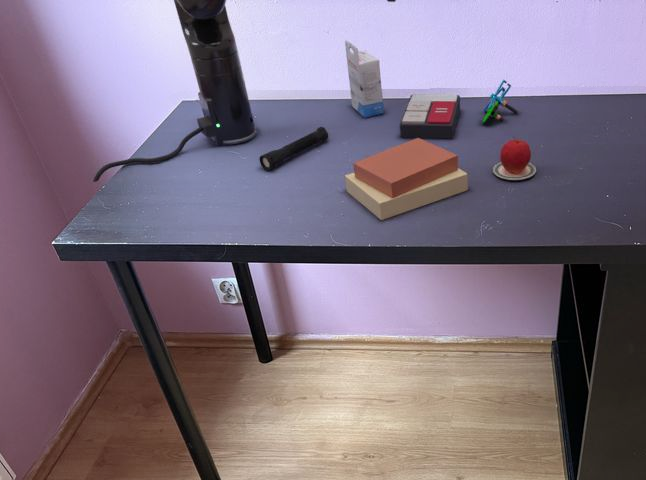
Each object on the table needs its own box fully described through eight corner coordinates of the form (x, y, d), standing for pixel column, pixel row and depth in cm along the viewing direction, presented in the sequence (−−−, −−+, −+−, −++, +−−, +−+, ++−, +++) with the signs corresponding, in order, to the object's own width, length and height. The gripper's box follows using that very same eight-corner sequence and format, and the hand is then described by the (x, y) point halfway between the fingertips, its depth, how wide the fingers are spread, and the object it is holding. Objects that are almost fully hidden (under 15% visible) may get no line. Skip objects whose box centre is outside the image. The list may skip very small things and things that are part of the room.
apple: (506, 159, 128) (507, 126, 124) (543, 169, 124) (545, 135, 120) (484, 175, 123) (485, 142, 119) (522, 186, 120) (523, 151, 115)
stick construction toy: (487, 94, 148) (505, 70, 142) (512, 112, 150) (531, 89, 144) (472, 129, 142) (490, 106, 136) (498, 147, 144) (517, 125, 138)
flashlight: (261, 168, 129) (257, 154, 128) (319, 138, 139) (317, 125, 137) (271, 172, 128) (268, 157, 126) (330, 142, 138) (328, 128, 136)
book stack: (381, 220, 112) (377, 188, 108) (346, 191, 121) (342, 160, 117) (467, 190, 119) (467, 158, 115) (428, 164, 128) (427, 134, 124)
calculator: (398, 121, 135) (410, 90, 146) (400, 140, 138) (412, 109, 149) (451, 121, 134) (460, 91, 144) (452, 141, 137) (460, 110, 147)
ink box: (385, 114, 148) (379, 44, 139) (364, 118, 147) (356, 48, 137) (371, 102, 154) (364, 34, 144) (351, 106, 153) (342, 38, 143)
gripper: (366, -89, 134) (369, 1, 140) (421, -98, 126) (422, -2, 133) (390, -84, 139) (392, 3, 146) (444, -92, 131) (444, 0, 138)
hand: (406, 0), depth 139 cm, fingers open, 8 cm apart
